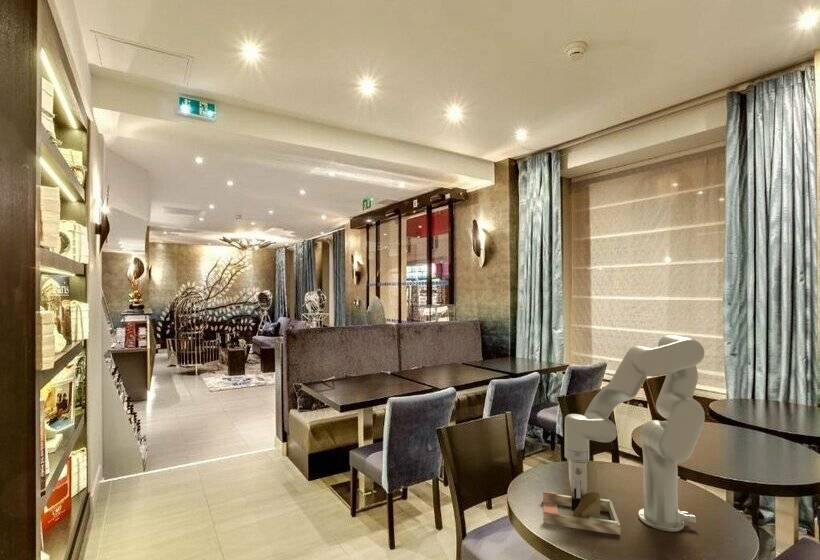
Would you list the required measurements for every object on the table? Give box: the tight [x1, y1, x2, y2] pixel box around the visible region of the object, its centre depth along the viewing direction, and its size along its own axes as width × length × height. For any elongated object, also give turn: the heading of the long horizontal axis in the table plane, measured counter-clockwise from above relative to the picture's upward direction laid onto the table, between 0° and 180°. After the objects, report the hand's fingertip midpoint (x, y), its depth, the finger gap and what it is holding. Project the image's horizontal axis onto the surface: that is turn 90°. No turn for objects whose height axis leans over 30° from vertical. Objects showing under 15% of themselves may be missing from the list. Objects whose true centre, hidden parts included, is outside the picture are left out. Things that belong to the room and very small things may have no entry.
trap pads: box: [542, 490, 560, 516], centre depth 141 cm, size 5×15×4 cm, turn 164°
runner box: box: [542, 493, 621, 536], centre depth 138 cm, size 22×15×4 cm
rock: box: [572, 491, 602, 519], centre depth 136 cm, size 11×9×10 cm
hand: (577, 510), depth 138 cm, fingers closed
